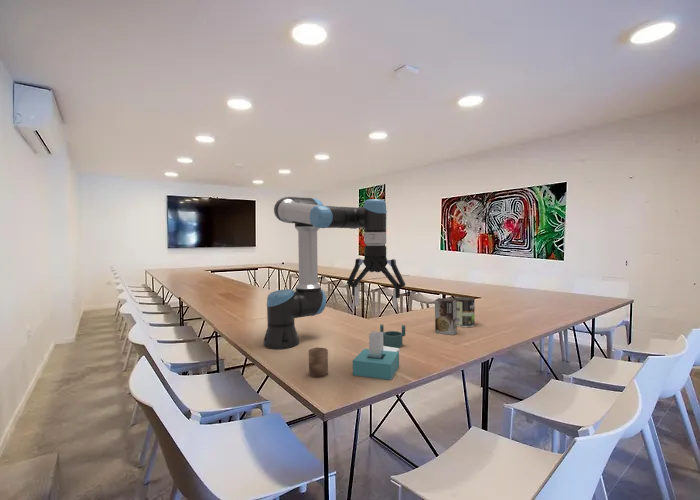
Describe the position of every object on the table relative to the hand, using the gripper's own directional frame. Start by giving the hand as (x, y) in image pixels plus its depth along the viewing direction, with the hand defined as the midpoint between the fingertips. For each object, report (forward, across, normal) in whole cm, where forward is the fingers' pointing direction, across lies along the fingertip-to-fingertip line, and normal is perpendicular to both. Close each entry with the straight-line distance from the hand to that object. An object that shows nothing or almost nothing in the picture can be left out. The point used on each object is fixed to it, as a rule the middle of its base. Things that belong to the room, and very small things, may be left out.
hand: (375, 306), depth 119 cm
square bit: (+21, 0, 0) cm, 21 cm away
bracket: (+23, 0, +30) cm, 37 cm away
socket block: (+22, 0, 0) cm, 22 cm away
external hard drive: (+23, -1, +18) cm, 29 cm away
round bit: (+22, -18, -9) cm, 30 cm away
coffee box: (+23, +20, +57) cm, 64 cm away
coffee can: (+23, +28, +75) cm, 83 cm away
